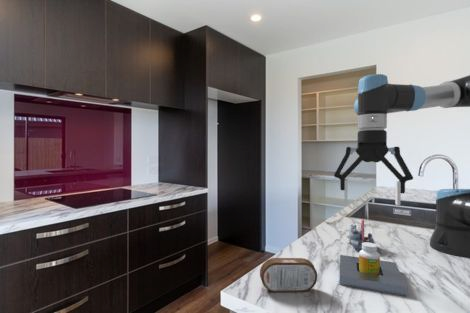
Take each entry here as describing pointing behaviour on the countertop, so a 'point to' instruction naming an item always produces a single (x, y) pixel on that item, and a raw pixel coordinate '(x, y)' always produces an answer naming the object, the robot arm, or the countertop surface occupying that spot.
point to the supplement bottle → (369, 259)
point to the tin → (288, 275)
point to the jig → (372, 277)
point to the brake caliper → (358, 237)
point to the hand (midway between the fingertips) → (370, 203)
